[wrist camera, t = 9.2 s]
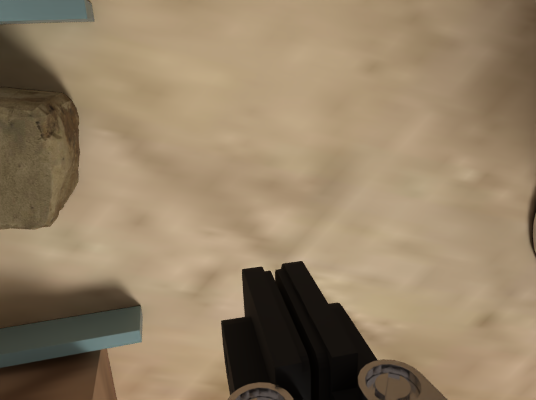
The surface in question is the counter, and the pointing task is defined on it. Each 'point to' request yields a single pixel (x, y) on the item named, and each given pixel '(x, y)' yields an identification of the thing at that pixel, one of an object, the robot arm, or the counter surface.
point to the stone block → (36, 156)
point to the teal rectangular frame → (78, 327)
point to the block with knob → (60, 378)
